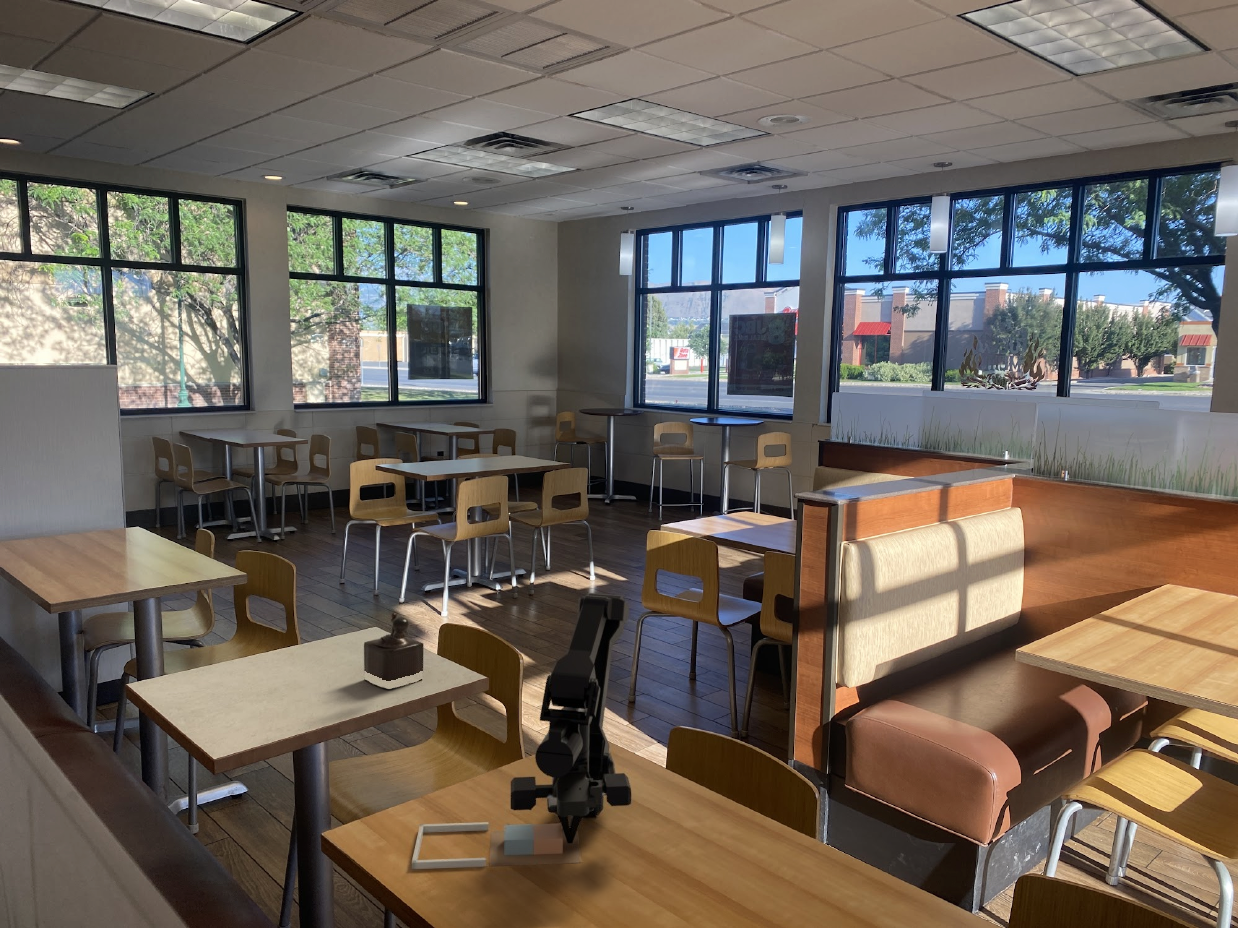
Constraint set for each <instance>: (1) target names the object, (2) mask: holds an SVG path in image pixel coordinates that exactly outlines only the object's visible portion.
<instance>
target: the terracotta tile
mask: <svg viewBox="0 0 1238 928" xmlns="http://www.w3.org/2000/svg"><path fill="white" fill-rule="evenodd" d="M532 824H533V834H534V855H538V854H562V853H563V835H562V829H563V828H562V825H561V822H559V823H538V824H537V823H532Z"/></svg>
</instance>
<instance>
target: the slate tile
mask: <svg viewBox="0 0 1238 928" xmlns="http://www.w3.org/2000/svg"><path fill="white" fill-rule="evenodd" d="M533 824H534V823H529V824H528V823H525V824H523V823H522V824H504V831H505V840H504V856H505V855H528V854H534V834H533Z"/></svg>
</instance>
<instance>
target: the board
mask: <svg viewBox="0 0 1238 928" xmlns="http://www.w3.org/2000/svg"><path fill="white" fill-rule="evenodd" d="M578 829H579V828H578ZM578 829H577V832H576V835H575V837H574V840H573V843H567V840H566V837H565V834H564V831H563V828H562V835H563V853H562V854H538V855H534V854H528V855H505V856H504V840H505V830H491V834H490V844H489V845H490V846H489V847H490V848H489V849H490V850H489V859H488V860H489V861H488V862H489V863H488V867H505V866H506V867H507V866H508V867H509V866H510V867H511V866H533V865H534V866H536V865H555V864H556V865H563V864H582V859H581V857H582V855H581V849H580V848H581V847H580V838H579V830H578Z"/></svg>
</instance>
